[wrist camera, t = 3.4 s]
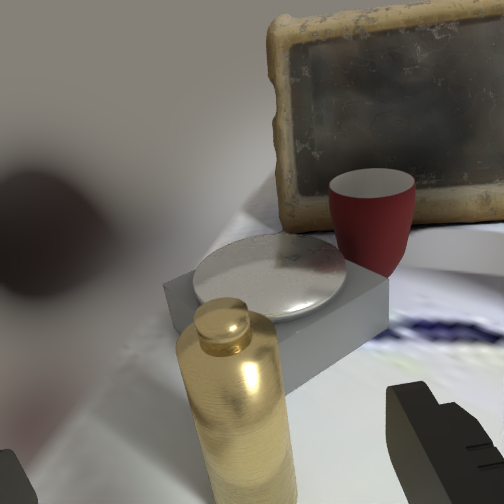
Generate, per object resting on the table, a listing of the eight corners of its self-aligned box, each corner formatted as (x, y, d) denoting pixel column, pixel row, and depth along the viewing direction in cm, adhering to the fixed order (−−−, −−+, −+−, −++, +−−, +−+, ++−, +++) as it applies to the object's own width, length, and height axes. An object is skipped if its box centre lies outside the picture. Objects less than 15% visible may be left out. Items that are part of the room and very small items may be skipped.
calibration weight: (264, 445, 31) (235, 273, 25) (314, 497, 28) (295, 311, 21) (201, 489, 29) (151, 313, 23) (246, 553, 25) (201, 364, 19)
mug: (340, 242, 55) (336, 161, 51) (411, 243, 53) (414, 158, 48) (328, 291, 47) (322, 199, 42) (413, 295, 44) (417, 197, 40)
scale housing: (282, 269, 52) (278, 229, 49) (388, 327, 41) (388, 278, 38) (171, 324, 45) (159, 281, 43) (260, 411, 34) (251, 359, 32)
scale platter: (281, 230, 48) (280, 222, 47) (380, 275, 38) (379, 264, 38) (169, 280, 42) (166, 271, 41) (252, 348, 32) (250, 337, 32)
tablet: (280, 247, 56) (254, 19, 45) (280, 203, 69) (260, 15, 57) (566, 222, 53) (619, -33, 41) (513, 181, 65) (542, -26, 53)
